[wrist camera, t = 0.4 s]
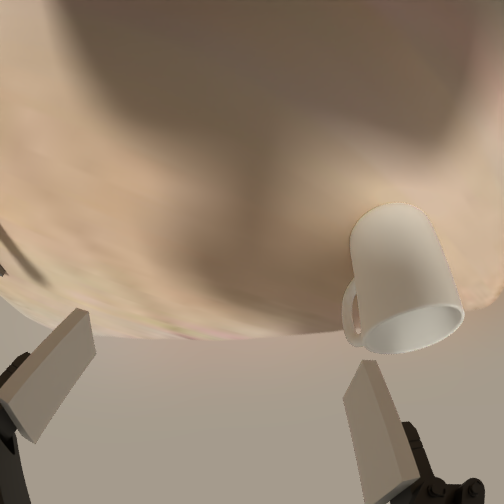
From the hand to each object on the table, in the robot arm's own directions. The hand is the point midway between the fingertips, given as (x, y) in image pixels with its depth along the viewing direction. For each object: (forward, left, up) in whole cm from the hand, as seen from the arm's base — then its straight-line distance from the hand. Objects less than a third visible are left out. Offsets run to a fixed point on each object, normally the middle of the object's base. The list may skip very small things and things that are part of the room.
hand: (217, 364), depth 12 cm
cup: (+6, +13, -15) cm, 20 cm away
